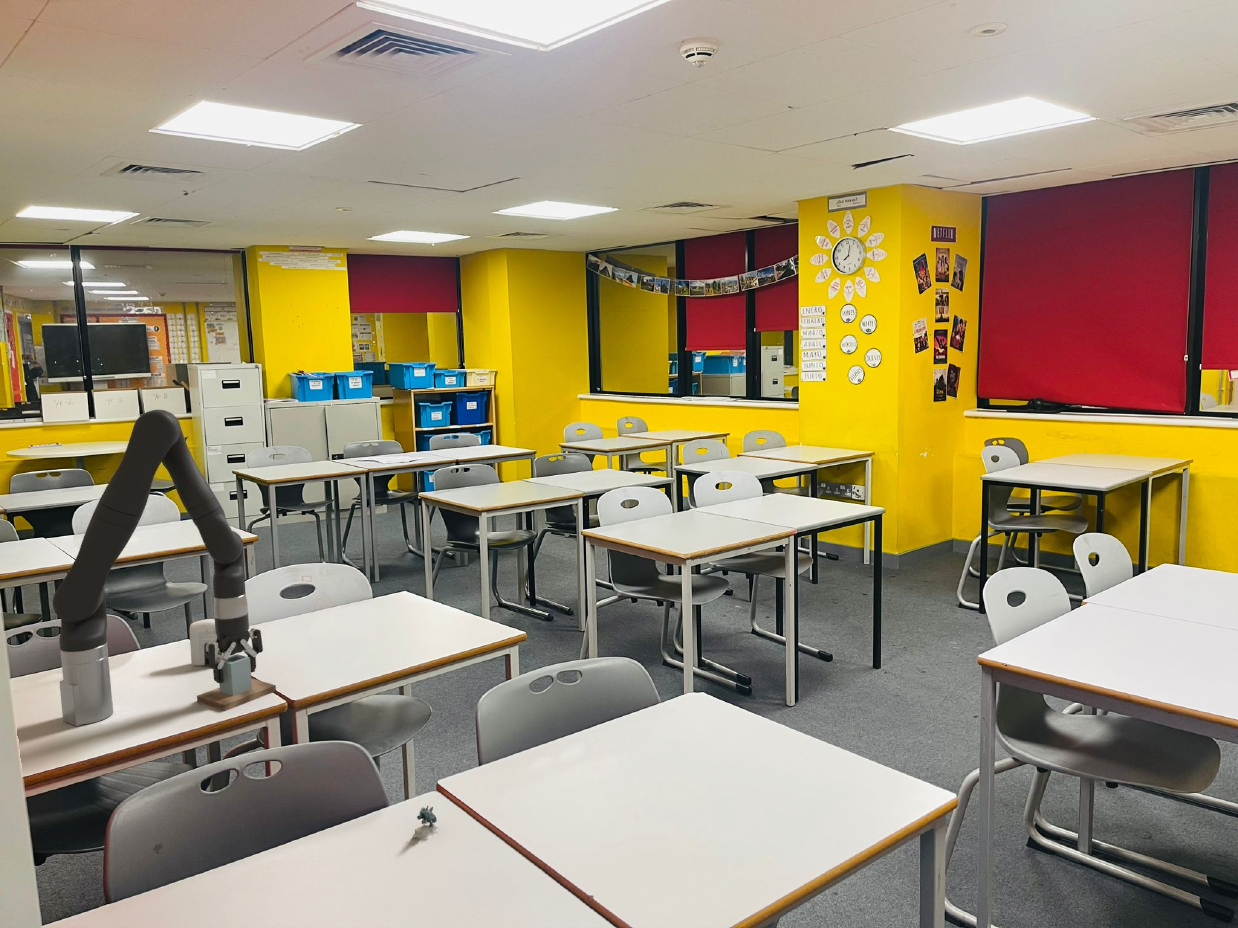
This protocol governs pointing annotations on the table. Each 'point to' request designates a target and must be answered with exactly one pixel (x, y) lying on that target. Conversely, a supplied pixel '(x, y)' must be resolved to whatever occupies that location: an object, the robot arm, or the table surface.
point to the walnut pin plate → (228, 701)
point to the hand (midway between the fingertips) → (235, 676)
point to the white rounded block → (201, 639)
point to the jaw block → (236, 675)
